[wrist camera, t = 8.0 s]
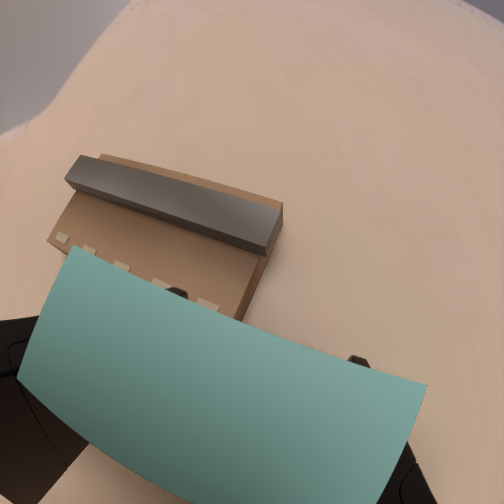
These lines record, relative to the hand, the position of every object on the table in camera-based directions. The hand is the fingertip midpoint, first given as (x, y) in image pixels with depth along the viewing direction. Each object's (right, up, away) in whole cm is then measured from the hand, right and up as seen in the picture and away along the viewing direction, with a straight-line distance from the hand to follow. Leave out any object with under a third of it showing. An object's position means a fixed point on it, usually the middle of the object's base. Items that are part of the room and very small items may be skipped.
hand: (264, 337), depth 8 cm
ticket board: (-5, +3, +9) cm, 11 cm away
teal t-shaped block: (0, -5, +5) cm, 7 cm away
